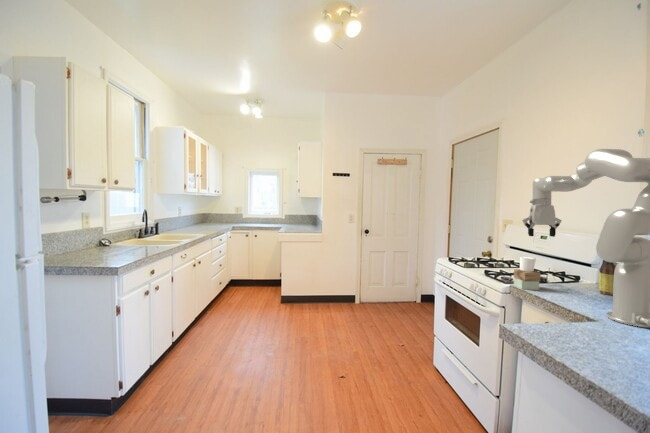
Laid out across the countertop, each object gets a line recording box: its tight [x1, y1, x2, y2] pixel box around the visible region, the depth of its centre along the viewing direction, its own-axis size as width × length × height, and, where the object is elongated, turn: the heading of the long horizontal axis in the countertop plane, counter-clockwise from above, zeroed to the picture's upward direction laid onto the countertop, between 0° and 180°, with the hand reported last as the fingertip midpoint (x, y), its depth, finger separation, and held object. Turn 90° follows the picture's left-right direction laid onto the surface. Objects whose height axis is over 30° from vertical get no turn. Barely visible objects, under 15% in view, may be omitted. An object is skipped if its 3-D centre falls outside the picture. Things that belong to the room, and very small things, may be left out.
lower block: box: [513, 277, 540, 291], centre depth 147 cm, size 8×8×4 cm
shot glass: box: [519, 255, 537, 272], centre depth 146 cm, size 7×7×7 cm
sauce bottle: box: [598, 259, 616, 297], centre depth 136 cm, size 7×6×20 cm
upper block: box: [513, 268, 541, 283], centre depth 146 cm, size 8×8×4 cm
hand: (541, 236), depth 141 cm, fingers open, 9 cm apart
